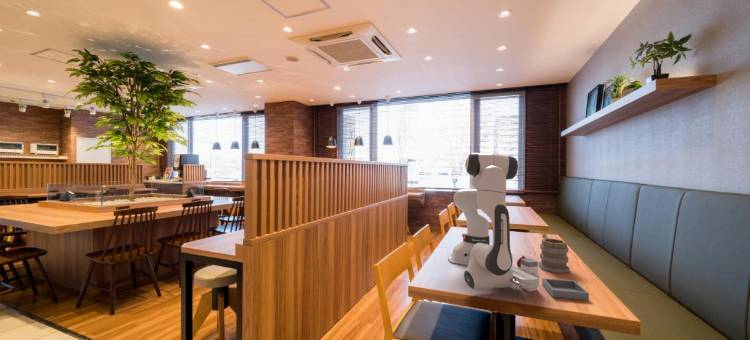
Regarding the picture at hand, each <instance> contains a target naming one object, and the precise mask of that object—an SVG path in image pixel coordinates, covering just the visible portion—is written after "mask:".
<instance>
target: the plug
mask: <svg viewBox="0 0 750 340" xmlns="http://www.w3.org/2000/svg"><path fill="white" fill-rule="evenodd" d="M538 263H539V261H537V260H536V259H533V258H530V257H529V258H527V259H521V270H522V271H524V272H526V273H528V274H530V275H532V276H533V274H538V275H539V273H538V272H539V271H538V270H539V266H538ZM522 289H523V290H525V291H527V292H533V291H534V292H535V291H538V288H522Z"/></svg>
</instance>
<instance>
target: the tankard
mask: <svg viewBox="0 0 750 340" xmlns="http://www.w3.org/2000/svg"><path fill="white" fill-rule="evenodd" d="M541 237H542V239H541V243H540V244H539V245H540V247H539V248H540V250H541V253H539V258H540V260H541V261H540V262H539V261H538V268H540V269H541V270H543V271H547V272H549V273H553V274H554V273H556V274H566V273H568V271H569V272H570V271H571V268H570V266H568V265H567V263H569V257H568V256H567V255H568V254H569V247H568V242H566V241H565V240H562V239H559V238H549V237H548V234H546V233H543V234H542V236H541Z"/></svg>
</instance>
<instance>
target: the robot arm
mask: <svg viewBox="0 0 750 340" xmlns="http://www.w3.org/2000/svg"><path fill="white" fill-rule="evenodd" d="M464 167H465V171H466V173H467V174H468V175H470V176H472V177H471V185H472V187H473V188H461V189H457V190H456V191H455V192H454V195H453V203H454V205H455V207H456V208H458V209H459V210H460V211H461V212H462V213H463V215H464V217H465V221H466V233H465V232H464V233H462V234H461V237H462V241H460V242H459V243H457V244H456V245H455V246H453V249H452V253H450V254H449V255H448V256H447V257H448V258H447V260H448V262H450V263H452V264H457V265H458V264H459V265H463V266H464V265H465V266H467V267H466V268H465V270H464V273H463V279H464V281H465V283H466V285H467V286H468V287H469V288H470V289H472V290H475V291H485V290H492V289H504V288H510V287H512V285H513V284H514V285H515V286H517V287H519V288H521V289H523V288H537V289H538V287H539V286H540V281H539V280H540V275H539V273H538V274H533V276H532V275H530V274H528V273H526V272H524V271H522V270H521V268H519V267H518V266H514V265H513V255H512V251H511V229H510V228H511V227H510V223H511V222H510V213H509V210H508V208H507V203H506V201H507V200H506V195H507V194H506V193H507V180H508V181H509V180H513V179H514V178H515V177H516V176H517V173H518V172H519V162H518V160H517V158H515V157H514V156H510V155H504V154H499V153H490V152H480V153H479V152H471V153H469V154H468V156H467V157H466V160H465V163H464ZM478 210H480V211H481V212H482V213H483V214H485V215H486V216H487V217H488V218H489V220H490V222H491V223H492V245H490V243H491V237H490V235H489V234H490V226H489V225H490V223H489V220H488V219H487V218H486V217H484V216H483V215H481V214H479V213H478Z"/></svg>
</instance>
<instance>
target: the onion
mask: <svg viewBox="0 0 750 340" xmlns="http://www.w3.org/2000/svg"><path fill="white" fill-rule="evenodd" d="M521 259H528V258H527V257H525V255H524V254H523V255H522V256H521V257H520V258H518V259H517V261H516V267H519V268H521Z"/></svg>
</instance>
